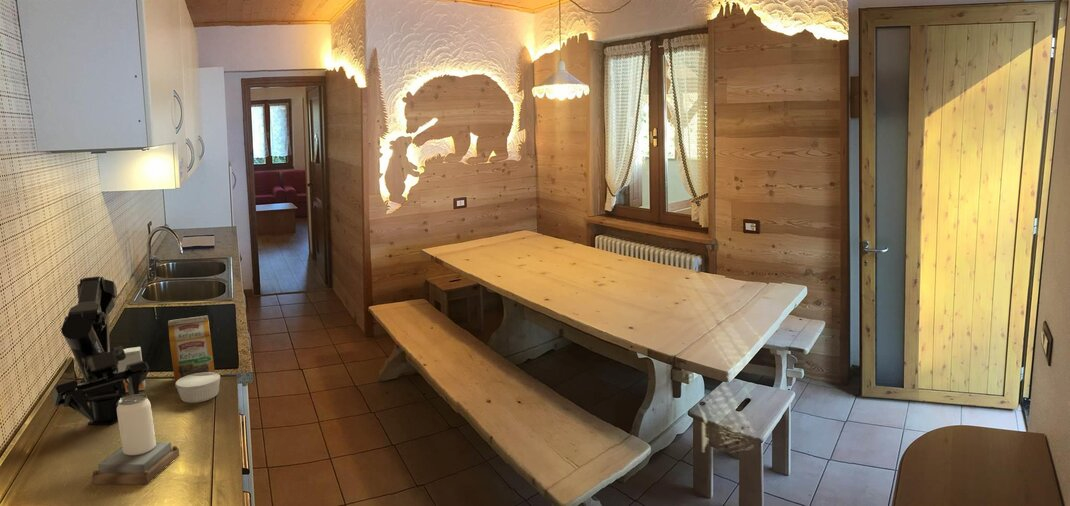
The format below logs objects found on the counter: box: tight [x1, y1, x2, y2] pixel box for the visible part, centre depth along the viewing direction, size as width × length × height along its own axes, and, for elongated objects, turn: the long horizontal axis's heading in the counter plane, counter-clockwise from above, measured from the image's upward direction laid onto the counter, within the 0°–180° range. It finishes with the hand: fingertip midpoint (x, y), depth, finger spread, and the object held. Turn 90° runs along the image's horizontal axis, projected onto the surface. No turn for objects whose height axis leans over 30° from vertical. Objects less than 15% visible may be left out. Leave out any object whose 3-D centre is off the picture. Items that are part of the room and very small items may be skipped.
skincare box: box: [116, 346, 146, 393], centre depth 193 cm, size 6×4×12 cm
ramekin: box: [175, 372, 221, 404], centre depth 188 cm, size 11×11×5 cm
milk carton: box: [167, 315, 216, 387], centre depth 200 cm, size 11×11×19 cm
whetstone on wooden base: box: [91, 441, 180, 485], centre depth 149 cm, size 12×12×4 cm
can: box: [117, 393, 157, 456], centre depth 149 cm, size 6×6×12 cm
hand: (116, 413), depth 152 cm, fingers open, 9 cm apart
